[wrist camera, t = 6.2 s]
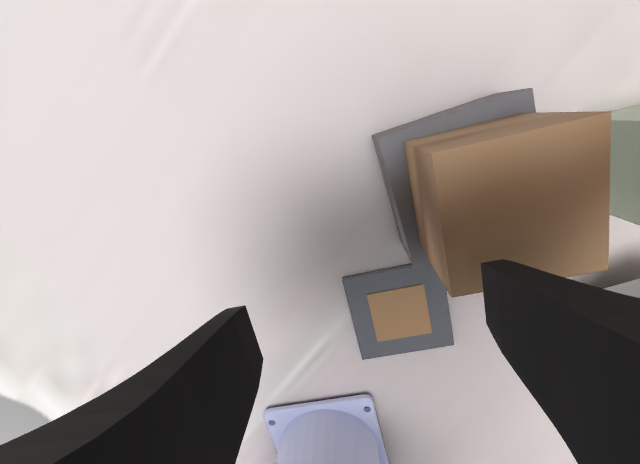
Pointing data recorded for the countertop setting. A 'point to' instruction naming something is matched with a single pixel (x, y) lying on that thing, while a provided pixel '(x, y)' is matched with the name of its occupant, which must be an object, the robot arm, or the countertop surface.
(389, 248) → the countertop surface
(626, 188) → the sage cube
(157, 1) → the countertop surface
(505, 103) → the charcoal base block
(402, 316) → the tile
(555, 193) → the walnut cube
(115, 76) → the countertop surface
